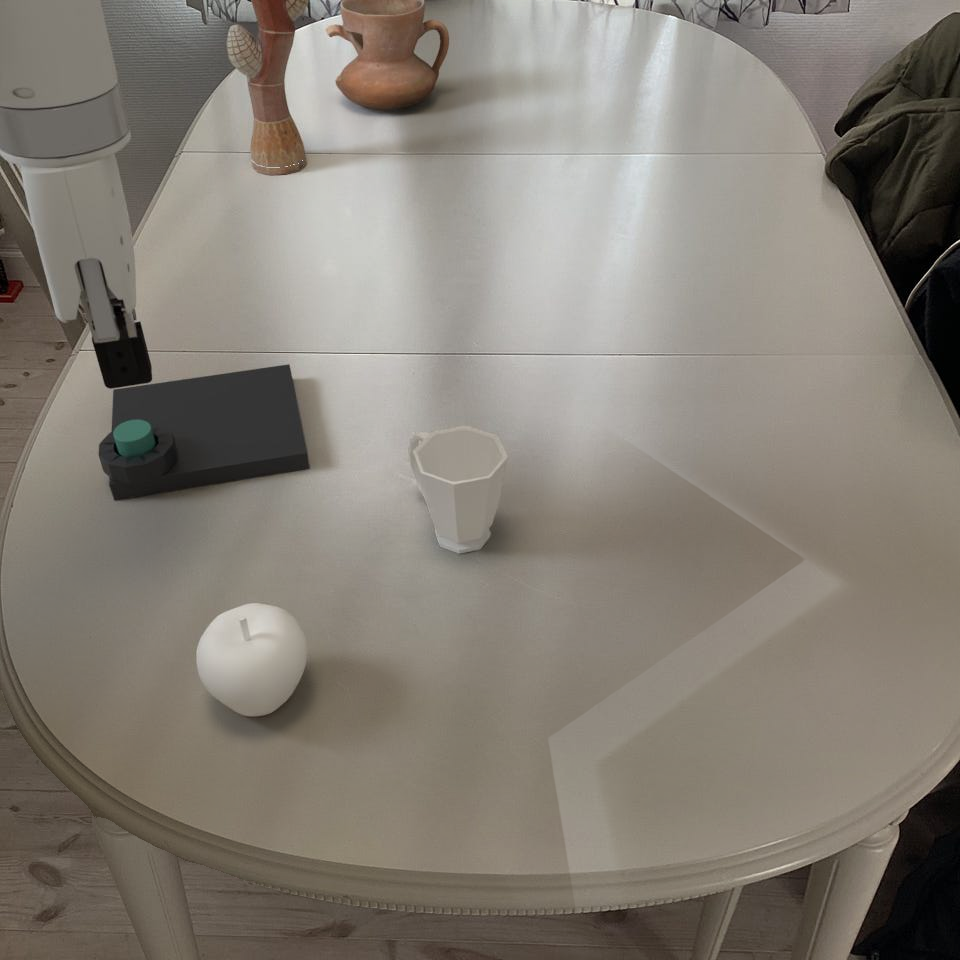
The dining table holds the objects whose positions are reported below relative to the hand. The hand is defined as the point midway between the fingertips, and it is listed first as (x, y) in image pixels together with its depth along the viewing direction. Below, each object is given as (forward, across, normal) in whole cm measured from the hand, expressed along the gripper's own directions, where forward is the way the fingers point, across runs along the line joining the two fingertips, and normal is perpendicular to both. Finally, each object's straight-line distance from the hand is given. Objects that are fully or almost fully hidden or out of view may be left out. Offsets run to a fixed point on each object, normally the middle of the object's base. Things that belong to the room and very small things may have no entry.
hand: (129, 379), depth 71 cm
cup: (+14, +6, +22) cm, 26 cm away
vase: (+14, -70, +19) cm, 74 cm away
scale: (+14, -12, +4) cm, 19 cm away
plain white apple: (+14, +18, +5) cm, 24 cm away
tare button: (+11, -7, -2) cm, 13 cm away
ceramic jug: (+14, -90, +37) cm, 98 cm away
